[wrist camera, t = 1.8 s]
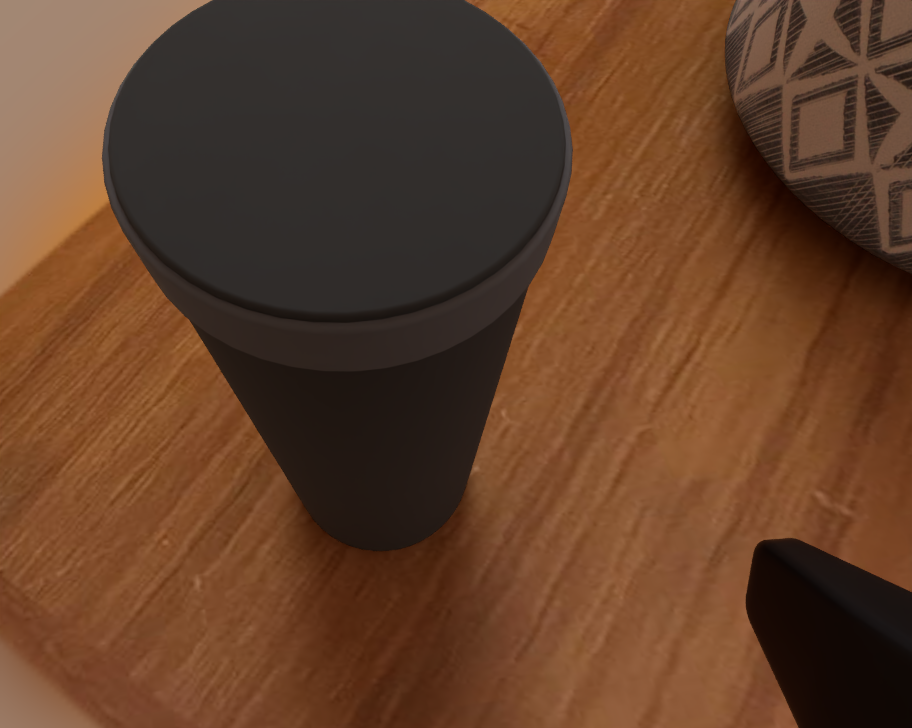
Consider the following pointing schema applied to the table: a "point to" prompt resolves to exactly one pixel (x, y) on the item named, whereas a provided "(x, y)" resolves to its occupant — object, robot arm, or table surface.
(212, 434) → the table surface
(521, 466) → the table surface
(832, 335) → the table surface
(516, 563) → the table surface
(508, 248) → the dark grey cylinder
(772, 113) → the planter
